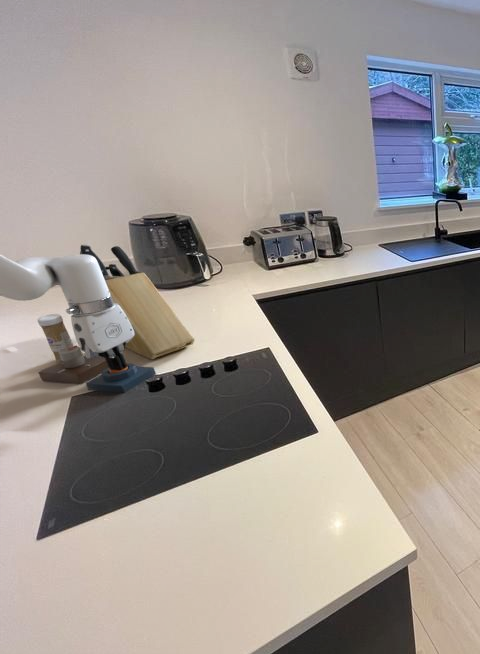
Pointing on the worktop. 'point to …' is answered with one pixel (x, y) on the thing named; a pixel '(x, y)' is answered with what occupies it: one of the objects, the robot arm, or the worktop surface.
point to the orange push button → (117, 370)
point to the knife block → (143, 309)
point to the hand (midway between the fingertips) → (119, 368)
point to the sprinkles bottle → (55, 333)
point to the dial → (72, 357)
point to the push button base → (121, 379)
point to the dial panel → (74, 371)
